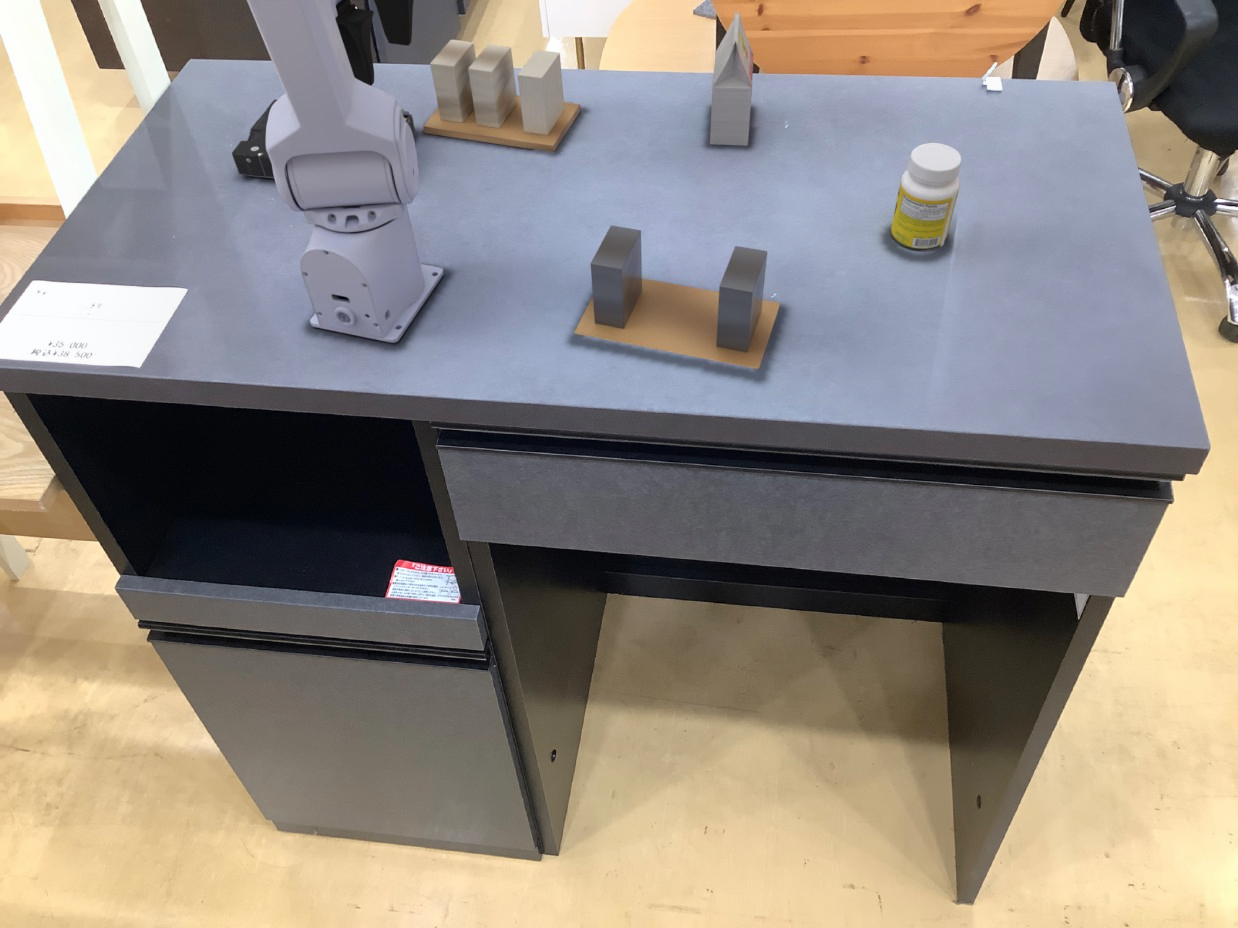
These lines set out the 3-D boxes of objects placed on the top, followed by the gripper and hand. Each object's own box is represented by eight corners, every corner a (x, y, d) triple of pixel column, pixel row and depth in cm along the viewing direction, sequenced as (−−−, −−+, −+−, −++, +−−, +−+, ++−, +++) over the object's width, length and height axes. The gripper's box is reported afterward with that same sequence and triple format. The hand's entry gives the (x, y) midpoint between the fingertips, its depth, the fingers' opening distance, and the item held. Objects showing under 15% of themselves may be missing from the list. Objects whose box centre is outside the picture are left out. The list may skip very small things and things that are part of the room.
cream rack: (553, 153, 96) (547, 87, 91) (424, 133, 100) (411, 69, 94) (580, 111, 101) (576, 47, 96) (456, 93, 104) (445, 30, 99)
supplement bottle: (909, 218, 88) (929, 133, 81) (955, 240, 85) (979, 154, 79) (877, 242, 86) (894, 157, 79) (923, 266, 83) (945, 180, 77)
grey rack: (758, 376, 75) (765, 308, 70) (574, 340, 79) (567, 272, 74) (779, 310, 80) (787, 241, 75) (605, 278, 84) (601, 211, 78)
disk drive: (239, 180, 95) (384, 189, 93) (229, 154, 93) (377, 163, 91) (280, 123, 102) (417, 130, 100) (272, 98, 100) (411, 105, 98)
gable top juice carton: (709, 144, 96) (714, 45, 89) (713, 108, 101) (717, 10, 93) (747, 145, 96) (755, 46, 89) (749, 109, 100) (756, 11, 93)
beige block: (547, 135, 97) (541, 78, 92) (523, 132, 98) (517, 74, 93) (564, 109, 100) (559, 52, 96) (541, 106, 101) (536, 49, 96)
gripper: (346, -57, 74) (385, 108, 85) (428, -127, 83) (454, 31, 94) (265, -66, 76) (313, 98, 86) (353, -133, 85) (387, 22, 95)
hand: (381, 62), depth 90 cm, fingers open, 7 cm apart
